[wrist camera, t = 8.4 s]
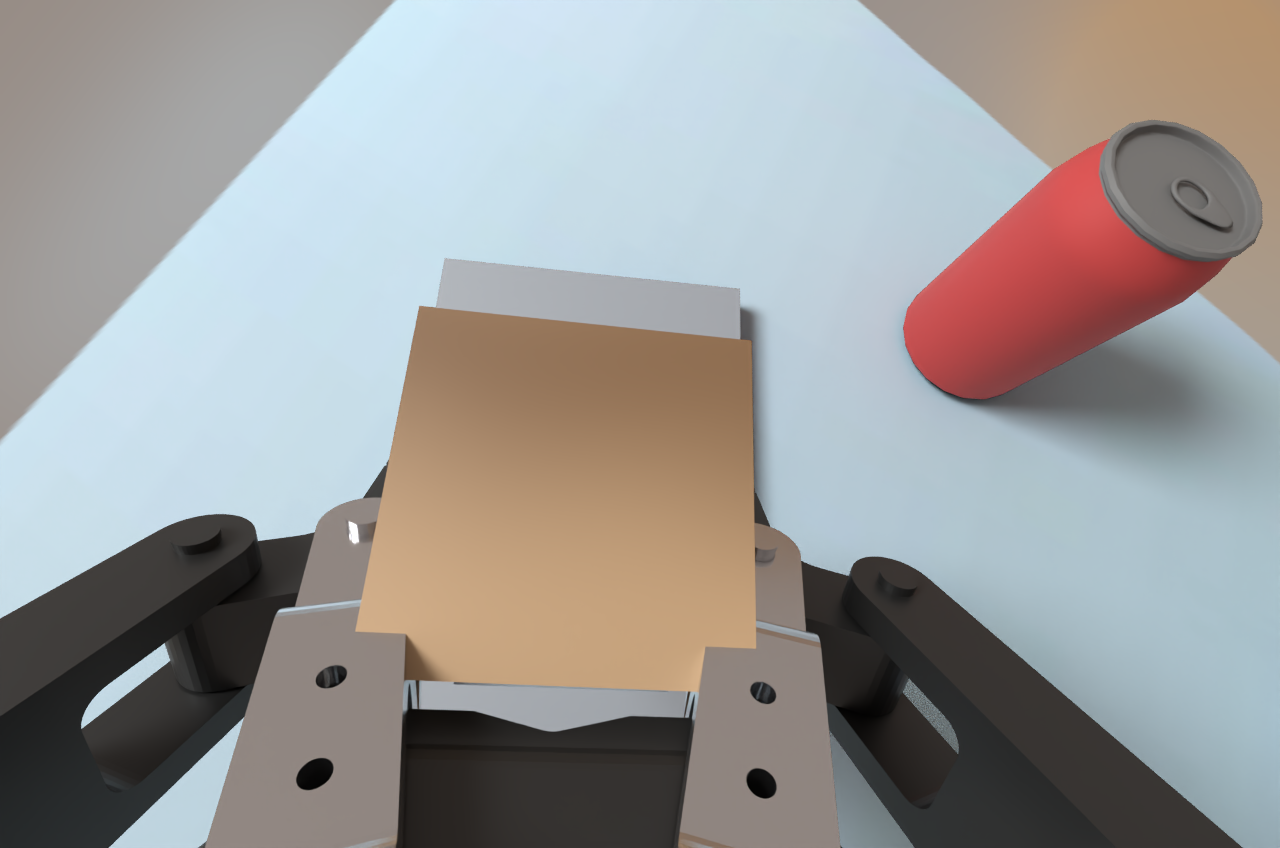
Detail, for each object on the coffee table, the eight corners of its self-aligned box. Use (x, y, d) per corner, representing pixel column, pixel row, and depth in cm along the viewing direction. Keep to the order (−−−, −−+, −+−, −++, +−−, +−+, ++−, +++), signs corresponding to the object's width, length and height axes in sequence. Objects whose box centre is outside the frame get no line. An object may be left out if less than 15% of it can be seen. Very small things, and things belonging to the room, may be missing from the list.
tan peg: (638, 648, 15) (756, 694, 6) (483, 640, 15) (346, 678, 5) (645, 498, 17) (751, 340, 7) (503, 488, 16) (419, 306, 7)
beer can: (970, 429, 29) (1228, 309, 18) (872, 338, 30) (1056, 168, 19) (1039, 351, 31) (1310, 198, 20) (944, 268, 32) (1151, 76, 21)
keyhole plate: (734, 744, 23) (745, 753, 22) (371, 734, 22) (357, 743, 20) (731, 304, 30) (739, 288, 28) (450, 276, 28) (444, 258, 27)
